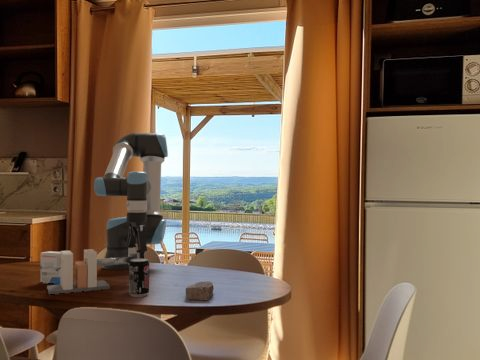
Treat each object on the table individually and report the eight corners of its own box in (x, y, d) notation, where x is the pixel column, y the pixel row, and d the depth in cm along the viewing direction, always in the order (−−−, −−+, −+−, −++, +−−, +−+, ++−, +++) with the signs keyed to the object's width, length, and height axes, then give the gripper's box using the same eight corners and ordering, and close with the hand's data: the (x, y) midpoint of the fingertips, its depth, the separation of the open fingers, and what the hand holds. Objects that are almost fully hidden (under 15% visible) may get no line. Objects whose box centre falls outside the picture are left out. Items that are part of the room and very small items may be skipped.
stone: (189, 292, 149) (189, 279, 149) (214, 292, 148) (214, 279, 149) (183, 301, 137) (184, 286, 137) (211, 301, 137) (211, 287, 137)
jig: (104, 283, 162) (104, 248, 162) (109, 288, 153) (109, 251, 153) (46, 289, 152) (47, 251, 152) (49, 295, 143) (49, 255, 144)
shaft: (139, 263, 165) (139, 253, 165) (142, 265, 162) (142, 254, 162) (88, 267, 156) (88, 256, 156) (90, 269, 153) (90, 258, 153)
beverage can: (148, 292, 148) (149, 257, 148) (149, 297, 141) (149, 261, 142) (129, 293, 146) (129, 258, 147) (128, 298, 140) (128, 261, 140)
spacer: (83, 282, 157) (83, 261, 157) (86, 287, 150) (86, 264, 150) (74, 283, 156) (74, 261, 156) (77, 288, 149) (78, 265, 149)
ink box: (66, 282, 164) (67, 251, 164) (57, 284, 159) (57, 253, 160) (49, 280, 167) (49, 250, 167) (39, 283, 162) (39, 252, 163)
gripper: (119, 210, 172) (119, 262, 172) (135, 213, 151) (134, 273, 150) (137, 210, 176) (137, 261, 175) (155, 212, 154) (155, 271, 154)
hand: (136, 267), depth 163 cm, fingers open, 13 cm apart
